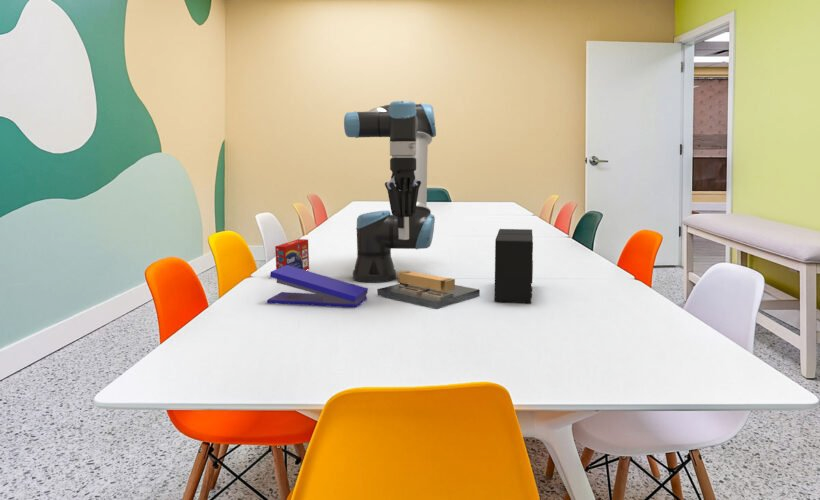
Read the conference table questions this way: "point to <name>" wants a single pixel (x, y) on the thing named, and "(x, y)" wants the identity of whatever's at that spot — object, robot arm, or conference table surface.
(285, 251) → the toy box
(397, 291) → the server board
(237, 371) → the conference table surface
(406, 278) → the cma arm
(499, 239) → the speaker
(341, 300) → the stapler
